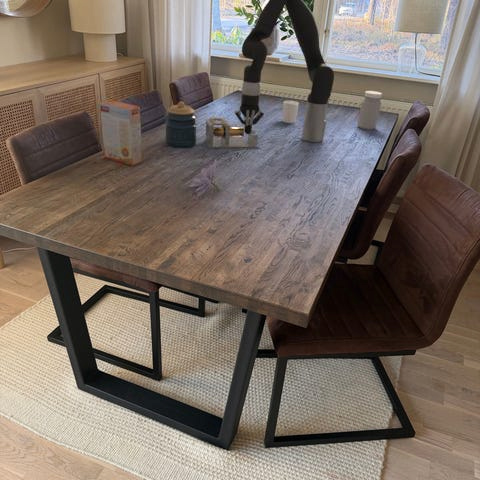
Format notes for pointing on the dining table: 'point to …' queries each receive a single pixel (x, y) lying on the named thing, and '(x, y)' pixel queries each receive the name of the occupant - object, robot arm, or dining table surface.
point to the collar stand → (227, 137)
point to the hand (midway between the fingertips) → (247, 133)
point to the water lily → (206, 178)
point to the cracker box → (121, 132)
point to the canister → (180, 126)
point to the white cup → (290, 111)
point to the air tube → (233, 132)
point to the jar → (369, 110)
